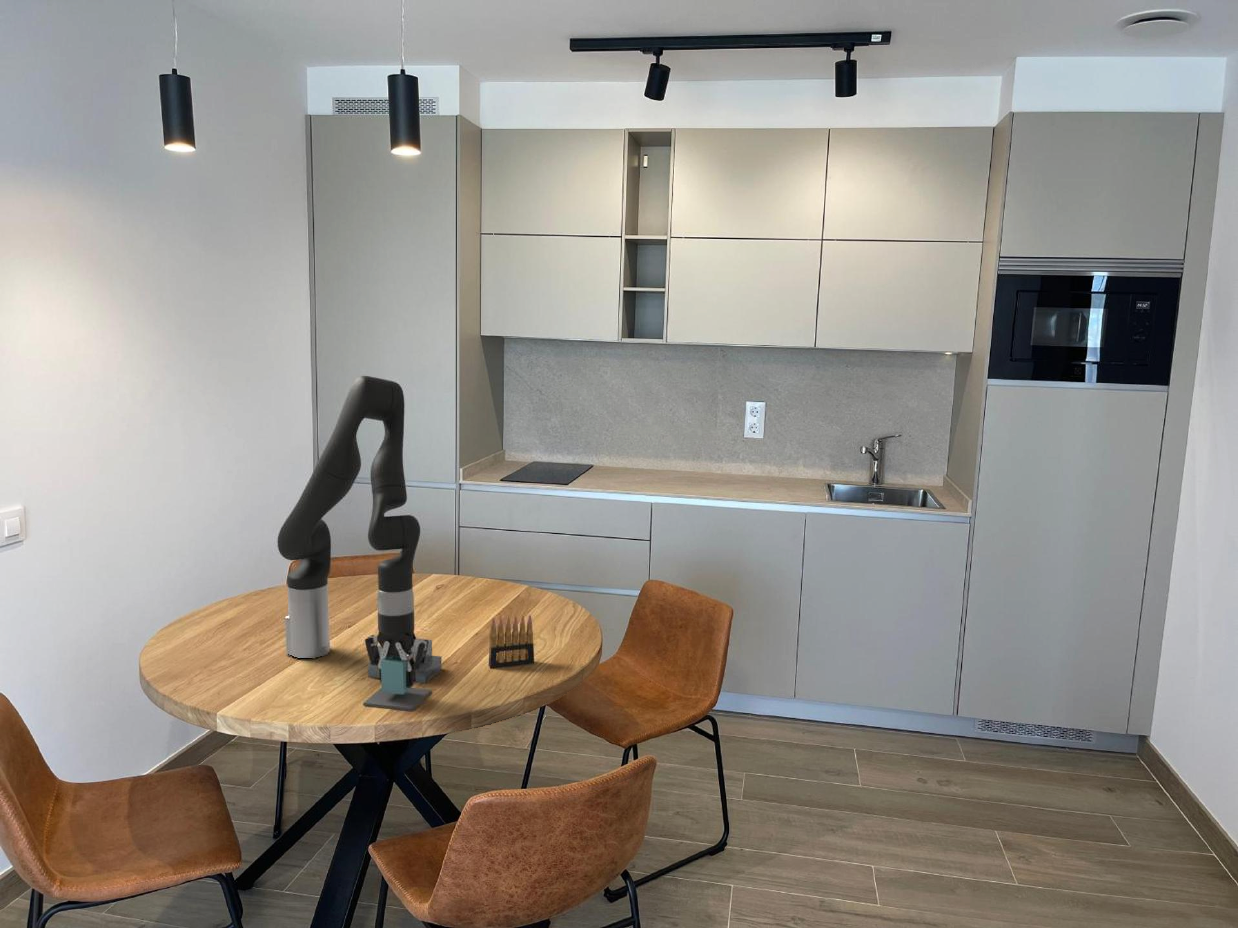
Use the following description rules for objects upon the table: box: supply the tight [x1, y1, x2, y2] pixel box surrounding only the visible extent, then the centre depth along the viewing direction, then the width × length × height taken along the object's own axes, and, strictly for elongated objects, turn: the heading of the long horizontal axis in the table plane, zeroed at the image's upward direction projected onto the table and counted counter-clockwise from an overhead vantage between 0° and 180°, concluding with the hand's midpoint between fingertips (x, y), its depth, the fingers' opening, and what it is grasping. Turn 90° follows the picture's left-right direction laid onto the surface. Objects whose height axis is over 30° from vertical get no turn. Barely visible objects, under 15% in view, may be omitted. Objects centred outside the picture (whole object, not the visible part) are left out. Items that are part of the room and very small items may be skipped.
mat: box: [362, 687, 432, 712], centre depth 191 cm, size 11×10×1 cm
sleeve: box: [380, 654, 415, 695], centre depth 191 cm, size 5×5×7 cm
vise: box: [367, 637, 443, 684], centre depth 205 cm, size 14×9×14 cm, turn 78°
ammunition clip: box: [488, 614, 535, 669], centre depth 211 cm, size 11×2×12 cm, turn 110°
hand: (397, 684), depth 191 cm, fingers closed on sleeve, 5 cm apart
